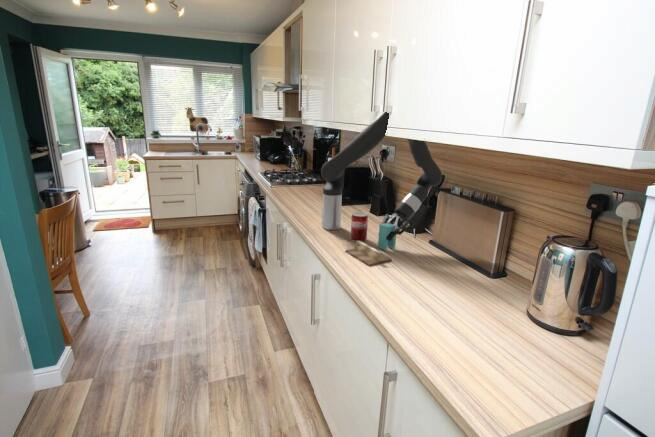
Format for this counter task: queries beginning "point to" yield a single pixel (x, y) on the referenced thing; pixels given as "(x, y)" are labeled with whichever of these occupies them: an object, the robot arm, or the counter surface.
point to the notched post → (383, 233)
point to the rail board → (368, 254)
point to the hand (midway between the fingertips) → (383, 237)
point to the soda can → (359, 226)
